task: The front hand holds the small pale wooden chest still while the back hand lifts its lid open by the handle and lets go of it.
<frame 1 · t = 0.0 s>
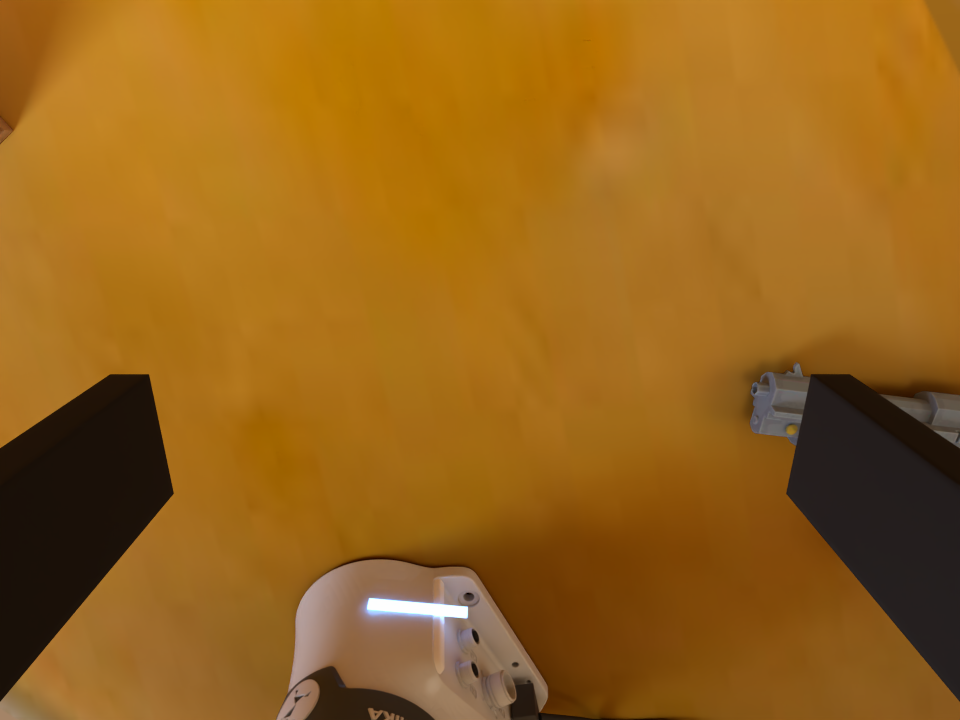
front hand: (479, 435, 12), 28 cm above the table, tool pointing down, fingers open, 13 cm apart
toy gun: (846, 459, 45), on the table
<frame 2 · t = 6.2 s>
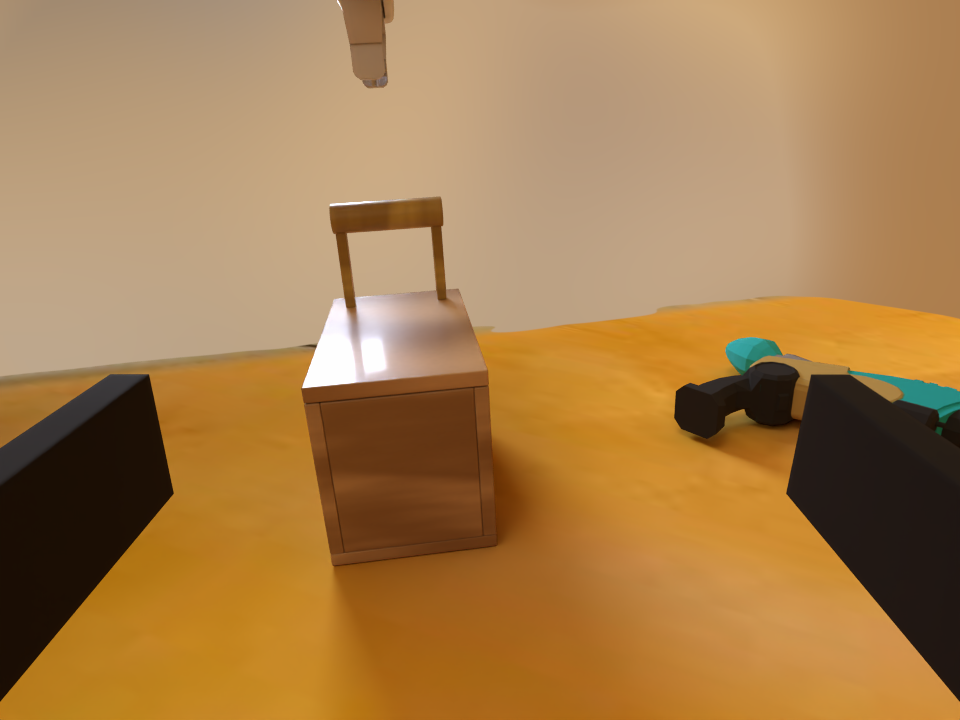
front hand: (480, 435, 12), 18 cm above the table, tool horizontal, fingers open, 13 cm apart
chest: (412, 480, 44), on the table
toy gun 2: (831, 438, 46), on the table
lid: (391, 279, 39), point 15 cm above the table, hinge at 0.0°
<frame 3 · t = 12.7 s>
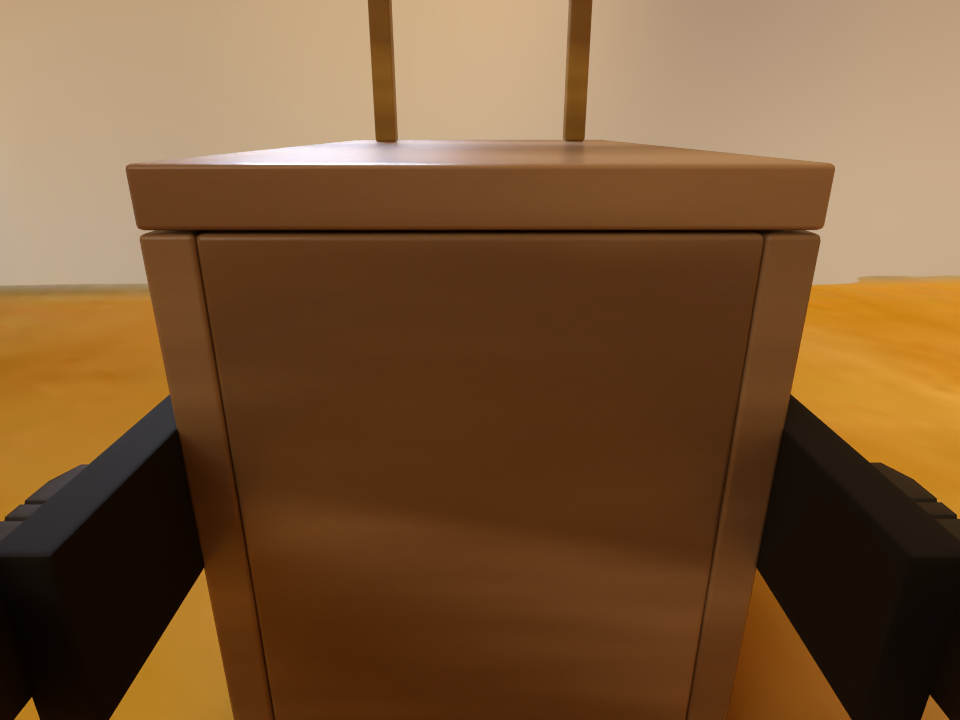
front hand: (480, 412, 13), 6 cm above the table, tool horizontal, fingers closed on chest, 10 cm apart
chest: (480, 513, 20), on the table, touching front hand
lid: (480, 7, 15), point 15 cm above the table, hinge at 0.0°
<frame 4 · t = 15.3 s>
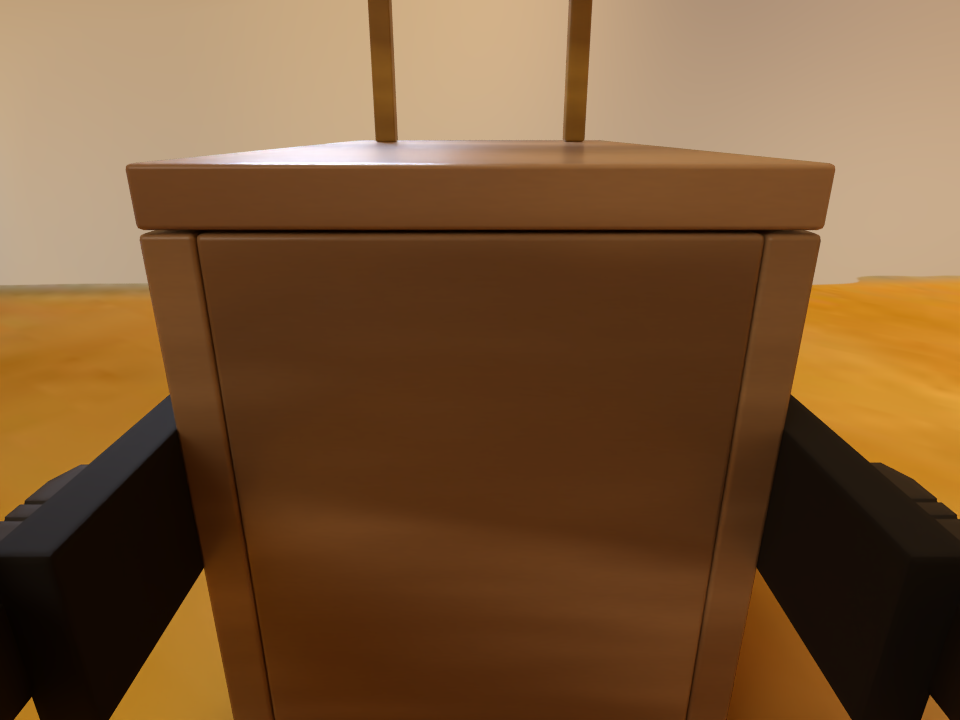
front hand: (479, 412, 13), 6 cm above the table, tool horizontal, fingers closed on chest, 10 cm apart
chest: (480, 513, 20), on the table, touching front hand
lid: (480, 7, 15), point 15 cm above the table, hinge at -0.1°, touching back hand
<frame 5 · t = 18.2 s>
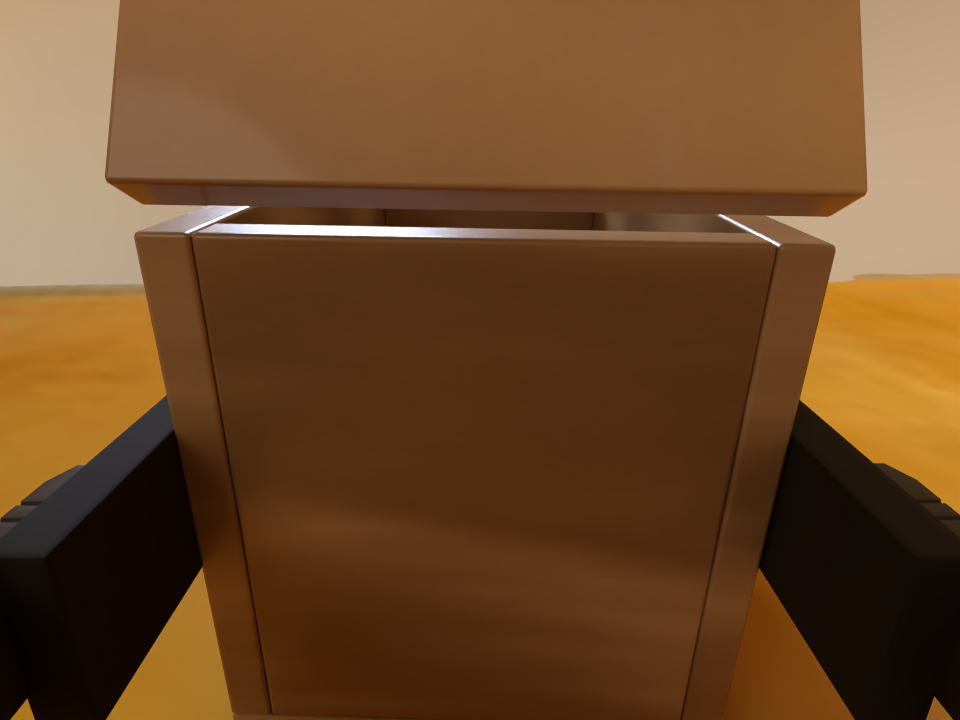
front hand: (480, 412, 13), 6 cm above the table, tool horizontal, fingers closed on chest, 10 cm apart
chest: (482, 503, 20), on the table, touching front hand
when the front hand's fingers open (6 cm above the table, at t = 23.2 s): chest stays where it is, on the table.
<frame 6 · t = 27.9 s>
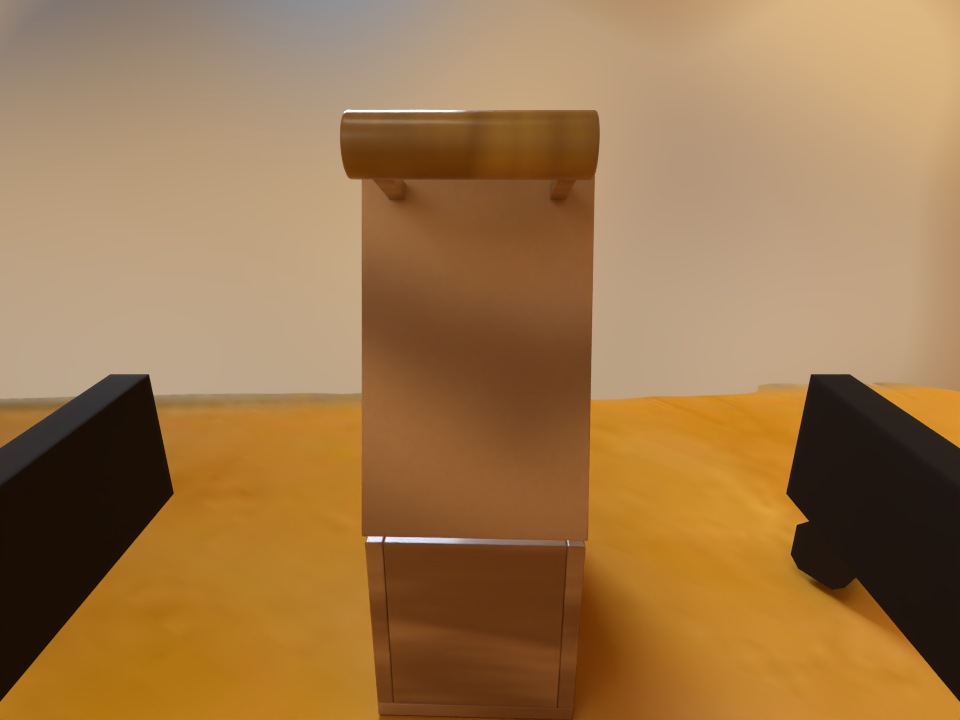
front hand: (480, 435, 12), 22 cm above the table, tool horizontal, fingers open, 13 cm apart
chest: (480, 598, 38), on the table
lid: (472, 338, 23), point 20 cm above the table, hinge at 72.0°
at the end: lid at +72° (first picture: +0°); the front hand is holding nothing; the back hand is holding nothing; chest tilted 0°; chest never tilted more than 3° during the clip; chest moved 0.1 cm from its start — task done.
